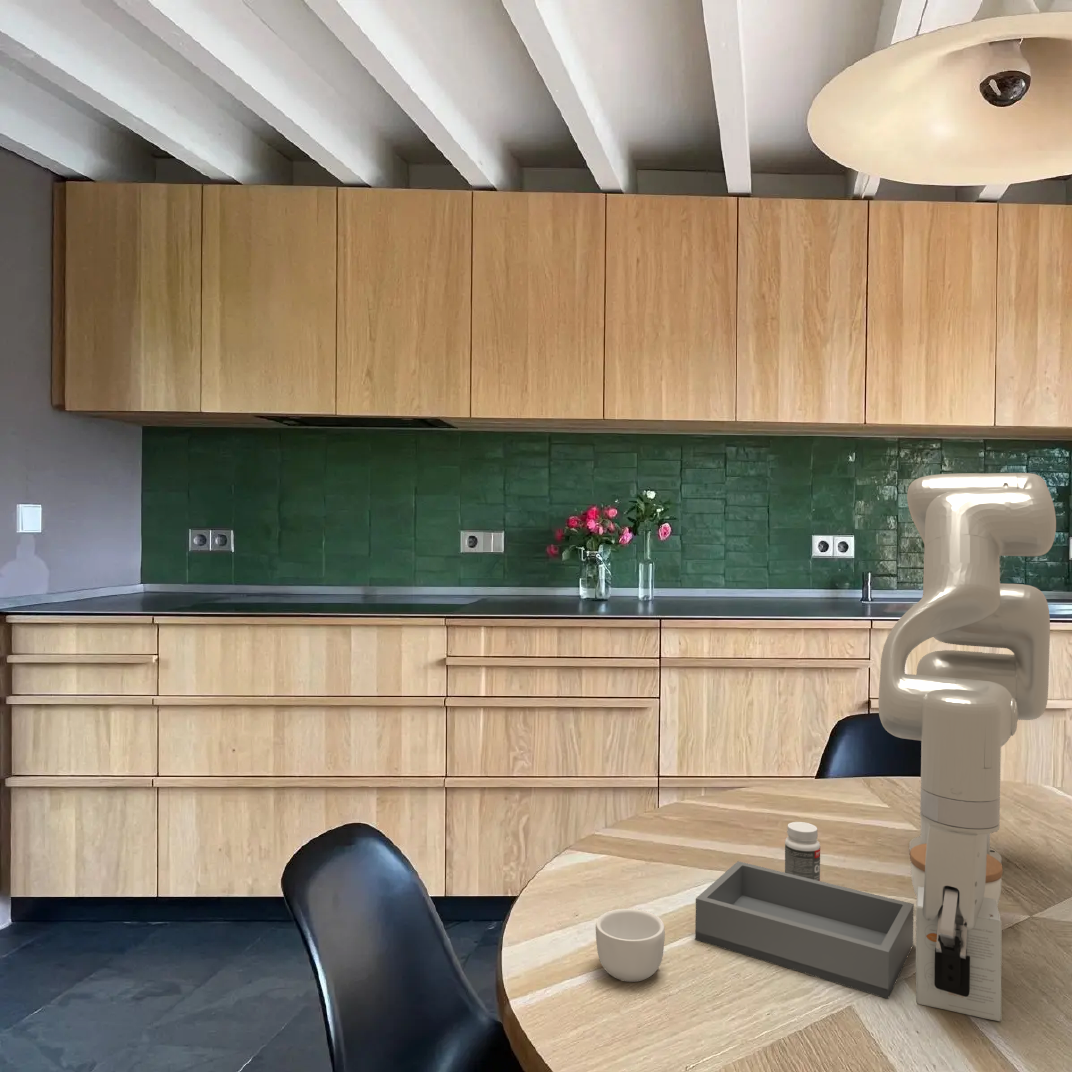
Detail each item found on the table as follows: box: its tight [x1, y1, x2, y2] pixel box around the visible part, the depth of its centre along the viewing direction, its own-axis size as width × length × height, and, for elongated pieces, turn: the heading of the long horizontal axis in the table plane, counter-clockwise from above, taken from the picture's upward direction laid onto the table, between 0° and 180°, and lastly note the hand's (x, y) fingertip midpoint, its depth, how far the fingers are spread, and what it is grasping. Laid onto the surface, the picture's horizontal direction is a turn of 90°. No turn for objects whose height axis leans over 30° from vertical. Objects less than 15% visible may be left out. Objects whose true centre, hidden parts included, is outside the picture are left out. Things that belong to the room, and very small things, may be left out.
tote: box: [694, 860, 915, 1000], centre depth 101 cm, size 14×22×5 cm, turn 56°
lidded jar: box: [909, 844, 1004, 906], centre depth 107 cm, size 11×11×9 cm
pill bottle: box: [784, 821, 821, 881], centre depth 117 cm, size 5×5×8 cm
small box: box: [915, 887, 1002, 1022], centre depth 88 cm, size 8×6×10 cm
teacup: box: [595, 908, 666, 983], centre depth 94 cm, size 10×8×5 cm
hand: (956, 975), depth 88 cm, fingers closed on small box, 6 cm apart
